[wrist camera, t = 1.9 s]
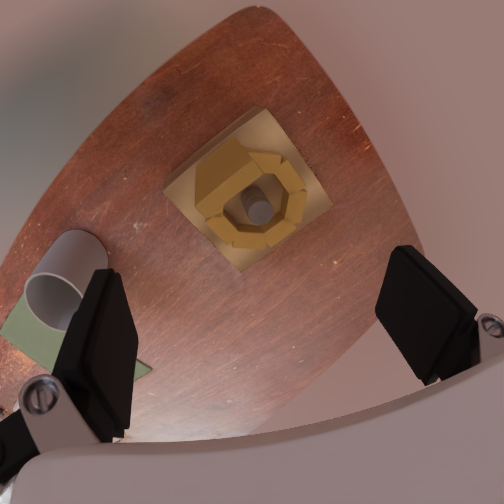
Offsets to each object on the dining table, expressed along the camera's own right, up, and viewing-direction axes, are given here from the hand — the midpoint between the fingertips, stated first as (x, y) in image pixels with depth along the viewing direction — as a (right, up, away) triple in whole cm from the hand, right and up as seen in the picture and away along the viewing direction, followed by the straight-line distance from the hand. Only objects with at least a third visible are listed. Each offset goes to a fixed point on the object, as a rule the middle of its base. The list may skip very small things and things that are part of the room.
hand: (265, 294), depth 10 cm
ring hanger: (0, +6, +16) cm, 17 cm away
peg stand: (-1, +9, +20) cm, 22 cm away
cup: (-19, 0, +22) cm, 29 cm away
